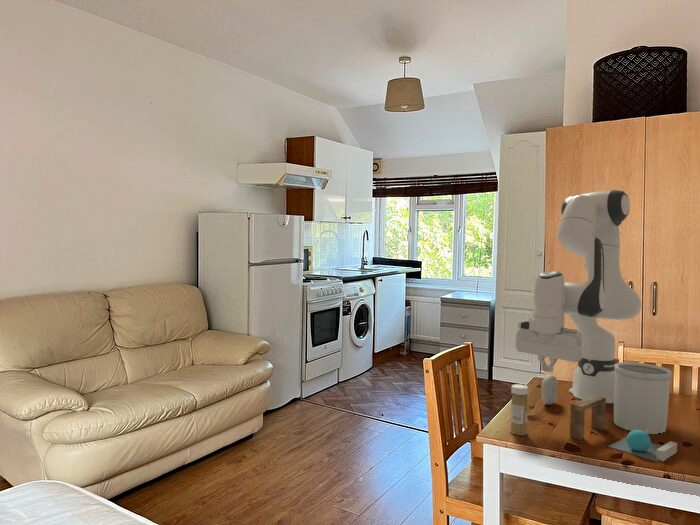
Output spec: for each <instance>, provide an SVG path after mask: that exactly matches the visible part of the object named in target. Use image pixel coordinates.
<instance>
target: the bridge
mask: <svg viewBox="0 0 700 525" xmlns="http://www.w3.org/2000/svg"><path fill="white" fill-rule="evenodd" d="M606 406H607V403H606V397H601V396H597V395H595V396H592V397H589V398H586V399H584V400H581V399H580V400H578V401H575V402H573V403H571V404H570V416H569V417H570V419H569V420H570V421H569V424H570V425H569V428H570V429H569V437H570V438H572V439H575V440H579V441H582V440H584V439H585V416H586V414H585V412H586V410H588V409H590V408H591V423H590V424H591V426H590V427H591V428H592V429H596V430H600V431H603V430H605V429H606V410H607V409H606Z"/></svg>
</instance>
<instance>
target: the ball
mask: <svg viewBox="0 0 700 525" xmlns="http://www.w3.org/2000/svg"><path fill="white" fill-rule="evenodd" d="M626 437H627V443H628V445H629V447H630V448H631V449H633V450H634V451H637V452H644V451H646V450H648V449H649V447H650V445H651V443H652V440H651V437H650V435H649V434H647V433H645V432H644V431H641V430H633V431H630V432H628V434H627V435H626Z"/></svg>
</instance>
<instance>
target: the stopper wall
mask: <svg viewBox="0 0 700 525" xmlns="http://www.w3.org/2000/svg"><path fill="white" fill-rule="evenodd" d="M661 446H662V447H660V448H658V449H657V453H656V459H659V462H660V461H661V462H664V461H666V460H668V459H669V458H671V457H672V456H674V455H675V454H677V453H678V442H675V441H670V440H669V441H668V442H666V443H664V444H663V445H661ZM676 452H677V453H676ZM673 454H674V455H673ZM670 456H671V457H670ZM667 458H668V459H667Z"/></svg>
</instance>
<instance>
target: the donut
mask: <svg viewBox="0 0 700 525" xmlns="http://www.w3.org/2000/svg"><path fill="white" fill-rule="evenodd" d="M558 389H559V385H558V380H557V377H556V376H555V375H553V374H547V375H545V376H544V377H543V380H542V383H541V389H540V392H541V394H540V395H541V399H542V402H543V404H545V405H547V406H551V405H553V404H554V403H555V402H556V399H557V397H558V396H557V395H558Z"/></svg>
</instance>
